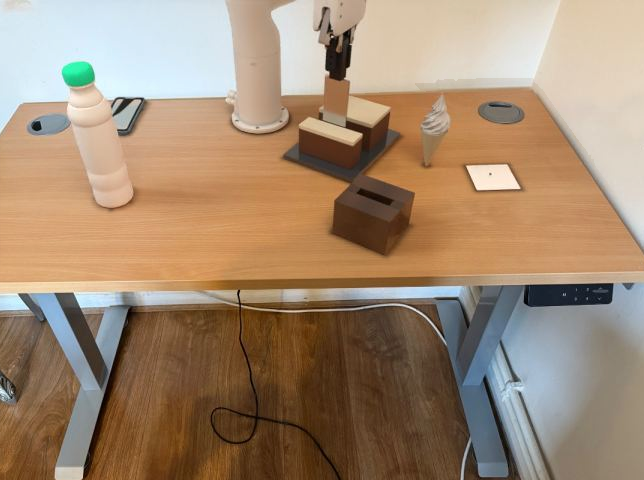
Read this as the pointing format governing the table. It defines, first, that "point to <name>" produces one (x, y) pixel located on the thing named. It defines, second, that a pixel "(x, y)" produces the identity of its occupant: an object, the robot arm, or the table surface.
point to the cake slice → (330, 142)
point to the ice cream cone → (434, 128)
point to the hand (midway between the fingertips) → (337, 68)
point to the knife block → (372, 213)
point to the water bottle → (96, 137)
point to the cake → (366, 120)
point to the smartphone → (126, 112)
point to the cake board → (339, 171)
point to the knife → (337, 92)
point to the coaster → (492, 177)
